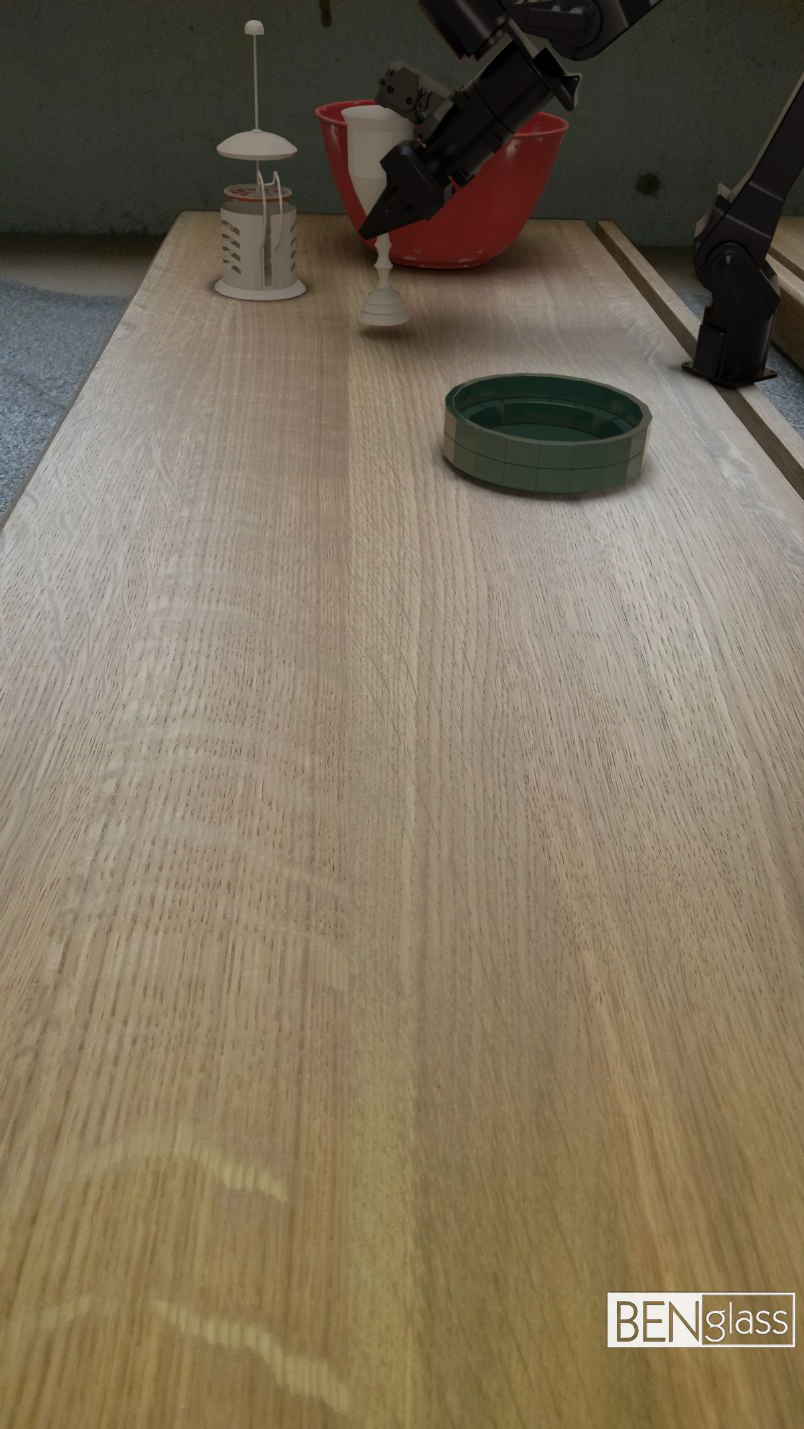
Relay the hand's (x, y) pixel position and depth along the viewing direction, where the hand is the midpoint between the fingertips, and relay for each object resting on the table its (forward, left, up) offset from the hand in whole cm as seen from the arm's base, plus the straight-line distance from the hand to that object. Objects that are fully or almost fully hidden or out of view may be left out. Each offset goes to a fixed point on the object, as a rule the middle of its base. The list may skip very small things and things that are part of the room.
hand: (369, 229), depth 113 cm
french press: (+1, -18, -10) cm, 21 cm away
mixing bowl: (-25, -22, -10) cm, 35 cm away
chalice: (-1, +1, -8) cm, 8 cm away
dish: (+6, +33, -10) cm, 35 cm away
